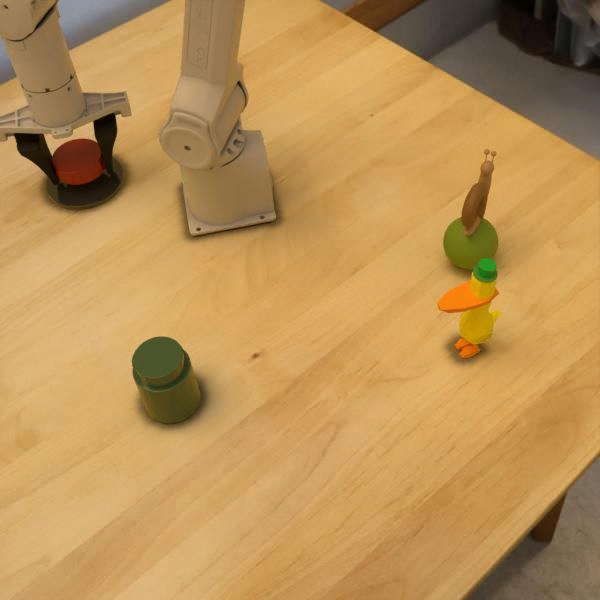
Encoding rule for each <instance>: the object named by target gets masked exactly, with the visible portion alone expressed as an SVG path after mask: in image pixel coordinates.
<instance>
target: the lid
mask: <svg viewBox="0 0 600 600" xmlns="http://www.w3.org/2000/svg"><path fill="white" fill-rule="evenodd" d="M52 164H53V166H54V169H55V171H56V174H57V176H58V179H60V180H61V181H62V182H64V183H67V184H71V185H80V184H85V183H88V182H91V181H93V180H95V179H96V178H98V177H99V176H100V175H101V174H102V173H103V171H104V169H105V163H104V159H103V155H102V152H101V150H100V147H99V145H98V143H97V140H93V139H90V138H74V139H70V140H68V141H66V142H64V143H62V144H61V145H59V146H58V147H57V148H56V149H55V150H54V151H53V153H52Z"/></svg>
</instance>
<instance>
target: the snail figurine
mask: <svg viewBox="0 0 600 600" xmlns="http://www.w3.org/2000/svg"><path fill="white" fill-rule="evenodd" d="M483 153H484V155H485V159H484V161H483V162H482V163H481V164H480V168H479V169H480V173H479V177H478V181H477V182H476V183H474V184H473V185H472V186H471V187H470V189H469V191H468V193H467V194H466V197H465V199H464V201H463V205H462V209H461V216H460V217H458V218H456V219H455V220H453V221H452V222H451V223H450V224H449V225H448V226H447V228H446V230H445V232H444V235H443V239H442V247H443V250H444V251H443V252H444V253H445V255H446V257H447V259H448V260H449V261H450V262H451V263H452V264H453V265H455V266H457V268H460V269H464V270H473V268H474V267H475V266H476V265H478V263H479V261H480V260H481V259H483V258H490V259H492V260H494V257H495V256H496V254H497V252H498V249H499V236H498V232H497V230H496V228H495V227H494V225H493V224H492V222H490V221H489V220H488V219H486V218H484V217H485V214H486V209H487V206H488V198H489V194H490V190H491V186H492V178H493V177H492V176H493V173H494V170H495V165H494V160H495V159H494V157H496V156H497V151H496V150H492V151H490V150H489V149H488V148H486V149H484V150H483ZM488 155H490V156H491V157H492V159H491V160H489V159H487V158H488Z"/></svg>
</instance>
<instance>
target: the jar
mask: <svg viewBox="0 0 600 600" xmlns="http://www.w3.org/2000/svg"><path fill="white" fill-rule="evenodd" d="M191 360H192V359H191V357H190V356H189V354H188V352H187V351H186V350H185V349H184V348H183V346H182V345H181V344H180V343H179V342H178V341H177V340H176V339H174V338H172V337H169V336H162V335H161V336H154V337H150V338H148V339H146V340H145V341H143V342H141V343H140V344H139V346H138V347H137V348H136V349H135V350H134V353H133V354H132V357H131V366H132V378H133V380H134V383H135V385H136V388H137V390H138V393H139V395H140V398H141V400H142V403H143V405H144V407H145V410H146V412H147V414H148V415H149V417H150V418H151V419H153V420H154V421H156V422H158V423H160V424H166V425H167V424H168V425H169V424H178V423H181V422H183V421H185V420H187V419H188V418H190V417H191V416H192V415H194V413H195V412H196V411H197V409H198V407H199V405H200V403H201V391H200V387H199V384H198V380H197V377H196V374H195V370H194V367H193V364H192V361H191Z"/></svg>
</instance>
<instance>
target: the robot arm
mask: <svg viewBox="0 0 600 600" xmlns="http://www.w3.org/2000/svg"><path fill="white" fill-rule="evenodd" d="M59 1H60V0H0V37H1V41H2V43H3V46H4V48H5V50H6V53H7V56H8V58H9V60H10V62H11V65H12V68H13V71H14V72H15V73H14V74H15V75H16V79H17V80H18V83H19V86H20V88H21V90H22V93H23V95H24V98H25V100H26V103H27V104H25V105H24V106H21V107H19V108H17V109H14V110H12V111H10V112H7V113H4V114H1V115H0V143H5V142H7V141H8V139H9V138H10V137H14V139H15V143H16V150H17V152H18V153H19V155H20V156H22V157H23V158H25V159H27V160H28V161H30V162H32V163H33V164H34V165H35V166H37V167H38V168H39V169H40V170H41V171H42V172H43V173H44V174H45V175H46V177H47V178H49V179H50V180H51V181H52V183H53V185H57V184H60V182H59V179H58V176H57V174H56V171H55V169H54V166H53V164H52V155H53V153H52V152H51V151H50V148H49V145H48V143H47V140H46V136H45V135H51V136H52V138H53V139H54V140H61V139H66V138H70V137H72V136H73V135H74V131H75V130H76V129H79V128H81V127H83V126H85V125H88V124H90V123H92V125H93V133H94V134H93V135H94V138H95V141H96V142H97V143H98V145H99V147H100V150H101V152H102V155H103V159H104V163H105V168H106V171H107V173H108V174H110V173H113V172H114V170H113V163H112V157H113V153H114V148H115V147H114V146H115V142H116V140H117V137H118V123H117V116H119V115H121V118H128V117H132V115H133V113H132V108H131V103H130V100H129V96H128V93H127V90H126V91H125V90H124V91H118V92H94V91H93V92H92V91H91V92H89V91H87V92H85V91H83V90H82V86H81V84H80V81H79V78H78V75H77V71H76V68H75V66H74V63H73V60H72V57H71V53H70V51H69V49H68V44H67V41H66V39H65V36H64V32H63V30H62V27H61V24H60V21H59V20H60V18H61V14H60V10H59V7H58V4H59ZM245 5H246V0H184V12H183V14H184V15H183V30H182V44H181V45H182V46H181V59H180V74H179V78H178V81H177V84H176V87H175V90H174V93H173V95H172V98H171V102H170V105H169V112H168V113H169V114H168V117H167V119H165V121H164V123H163V124H162V126H161V127H160V129H159V132H158V142H159V144H160V147H161V149H162V151H164V153H165V154H166V155H167V157H168V158H169V159H171V160H172V161H173V162H174V163H176V164H177V165H178V167H179V171H180V174H181V178H182V179H181V180H182V182H183V185H182V191H183V199H184V205H185V211H186V218H187V224H188V230H189V234H190V235H191V236H192V237H195V236H201V235H205V234H210V233H217V232H221V231H226V230H232V229H233V230H234V229H238V228H242V227H249V226H253V225H259V224H264V223H269V222H273V221H275V220H276V219H277V215H276V210H275V203H274V195H273V190H274V182H273V178H272V173H271V172H270V166H269V160H268V155H267V150H266V149H267V148H266V144H265V140H264V136H263V133H262V130H261V129H243V126H242V125H243V124H242V117H241V115H242V113H243V112H244V111H245V109H246V108H247V106H248V103H249V99H250V98H249V91H248V88H247V86H246V84H245V81H244V70H245V69H244V68H245V66H244V64H243V63H242V62H240V61H239V60H238V58H239V51H240V43H241V36H242V30H243V29H242V28H243V22H244V21H243V20H244V13H245V7H246V6H245Z"/></svg>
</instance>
